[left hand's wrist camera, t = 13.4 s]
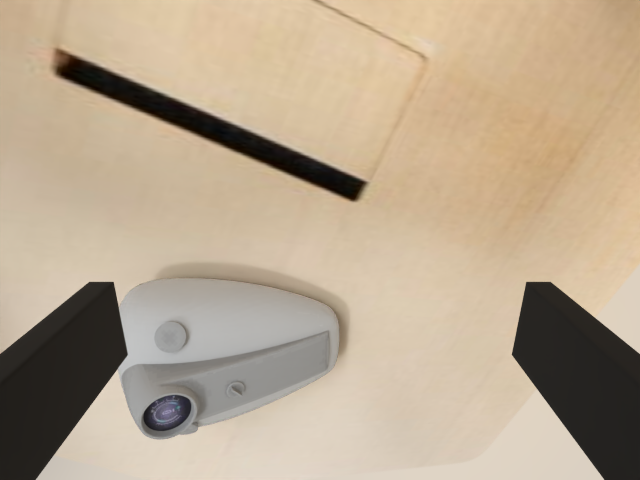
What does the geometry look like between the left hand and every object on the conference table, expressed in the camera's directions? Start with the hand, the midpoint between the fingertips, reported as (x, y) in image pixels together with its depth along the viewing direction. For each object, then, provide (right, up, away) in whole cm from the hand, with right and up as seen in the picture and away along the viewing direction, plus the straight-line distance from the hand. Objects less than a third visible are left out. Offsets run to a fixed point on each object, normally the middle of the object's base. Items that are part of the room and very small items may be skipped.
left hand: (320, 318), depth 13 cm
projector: (-10, -8, +34) cm, 36 cm away
